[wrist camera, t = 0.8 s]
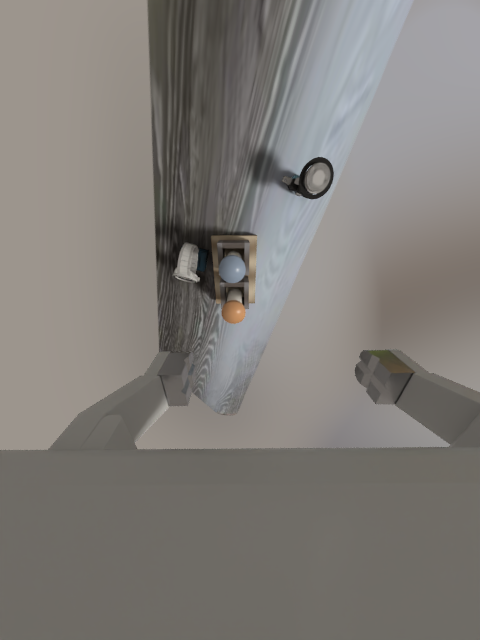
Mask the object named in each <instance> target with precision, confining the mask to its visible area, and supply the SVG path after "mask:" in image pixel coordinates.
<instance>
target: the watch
mask: <svg viewBox="0 0 480 640" xmlns="http://www.w3.org/2000/svg"><path fill="white" fill-rule="evenodd" d="M208 252H209V250H205V249H201V248H198V247H197V245H194V244H190V243H186V242H185V244H184V245H183V246H182V247H181V251H180V254H179V259H178V265H177V268H176V269H175V270H174V274H173V276H174V277H175V278H177V279H180V280H183V281H187V282H192V283H197V281H199V280H200V277H198V276H197V275H196V274H195V273H196V270H199V271H203V272H204V271H205V269H206V265H207V258H208ZM194 269H195V270H194Z"/></svg>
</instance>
